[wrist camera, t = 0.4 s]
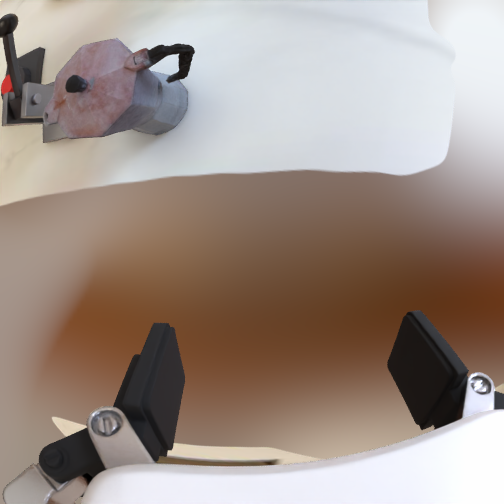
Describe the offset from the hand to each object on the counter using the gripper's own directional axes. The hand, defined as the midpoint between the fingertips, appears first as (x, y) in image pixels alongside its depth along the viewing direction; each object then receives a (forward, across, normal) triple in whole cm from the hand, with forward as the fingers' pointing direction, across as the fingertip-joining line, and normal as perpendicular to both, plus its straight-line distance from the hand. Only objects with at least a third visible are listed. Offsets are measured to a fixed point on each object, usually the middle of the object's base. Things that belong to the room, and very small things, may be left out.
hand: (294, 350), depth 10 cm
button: (+27, +40, -23) cm, 54 cm away
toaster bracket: (+30, +29, -16) cm, 45 cm away
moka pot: (+31, +13, -14) cm, 36 cm away
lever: (+18, +29, -22) cm, 41 cm away
